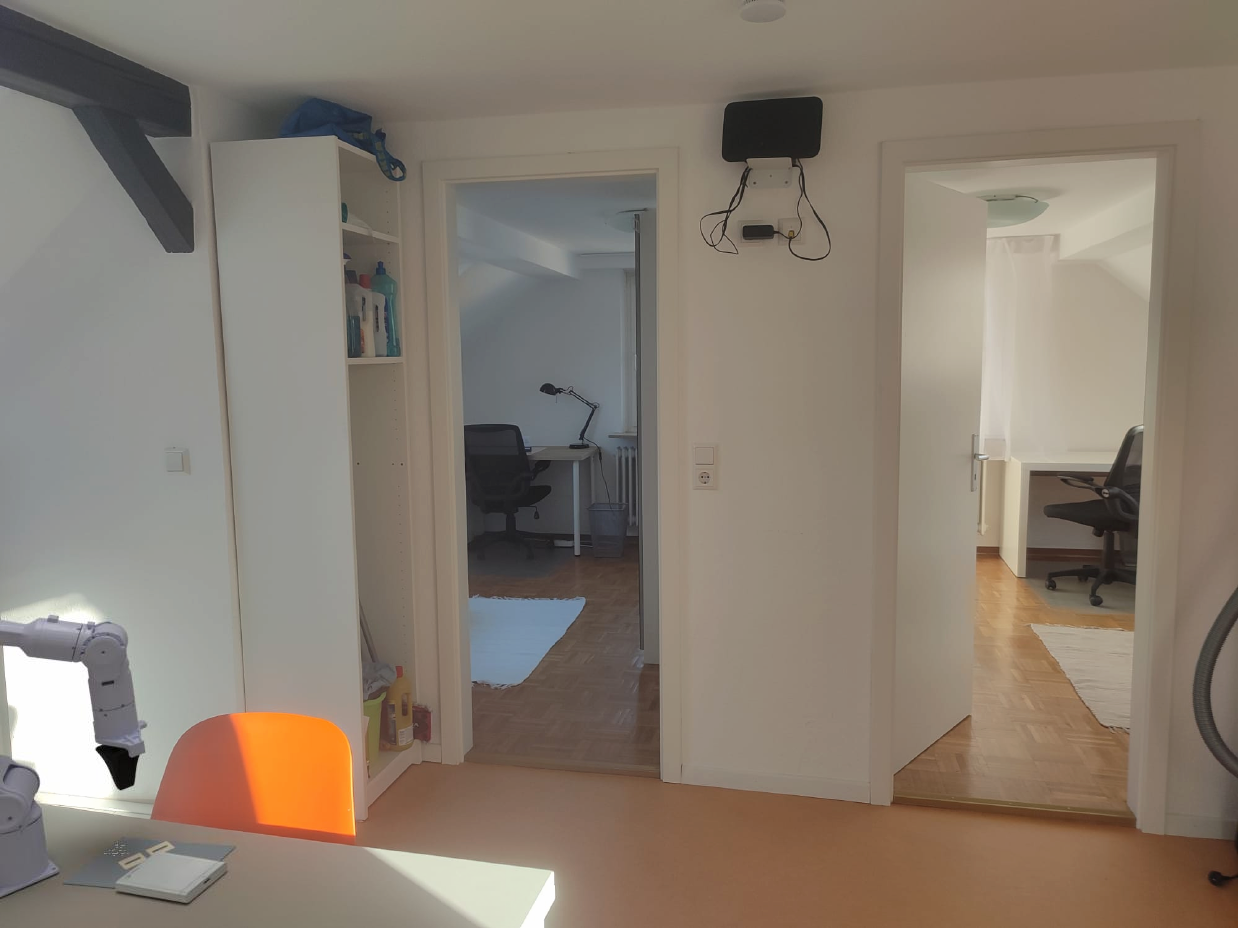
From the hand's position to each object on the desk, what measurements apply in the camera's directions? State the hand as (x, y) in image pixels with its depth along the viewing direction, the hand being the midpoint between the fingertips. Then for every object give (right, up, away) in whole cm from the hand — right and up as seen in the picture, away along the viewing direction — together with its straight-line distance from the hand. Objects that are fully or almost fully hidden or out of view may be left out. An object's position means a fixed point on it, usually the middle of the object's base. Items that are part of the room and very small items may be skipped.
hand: (125, 786), depth 136 cm
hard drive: (+11, -11, -7) cm, 17 cm away
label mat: (+6, -11, -3) cm, 12 cm away
